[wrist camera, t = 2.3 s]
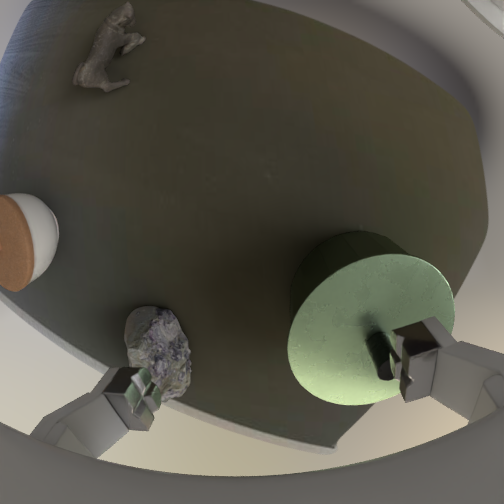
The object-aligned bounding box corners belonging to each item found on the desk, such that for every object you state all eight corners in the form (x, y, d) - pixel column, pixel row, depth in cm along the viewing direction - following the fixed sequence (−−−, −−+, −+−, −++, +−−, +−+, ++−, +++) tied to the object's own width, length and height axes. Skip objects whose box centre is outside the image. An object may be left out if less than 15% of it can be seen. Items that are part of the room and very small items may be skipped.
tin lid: (443, 225, 21) (475, 241, 16) (448, 366, 25) (466, 394, 20) (262, 285, 24) (257, 315, 19) (310, 413, 28) (312, 448, 23)
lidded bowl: (83, 218, 33) (26, 239, 23) (58, 284, 37) (12, 316, 26) (33, 170, 32) (-23, 179, 21) (13, 237, 35) (-34, 257, 25)
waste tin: (401, 213, 29) (442, 233, 20) (417, 326, 33) (446, 368, 24) (272, 254, 32) (269, 290, 23) (309, 362, 36) (314, 414, 27)
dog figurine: (122, 99, 28) (87, 87, 21) (90, 90, 28) (53, 80, 21) (164, 16, 25) (140, -11, 18) (129, 12, 24) (101, -11, 17)
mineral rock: (187, 388, 40) (167, 437, 30) (124, 358, 39) (94, 400, 30) (215, 327, 36) (195, 379, 26) (140, 292, 35) (100, 331, 26)
